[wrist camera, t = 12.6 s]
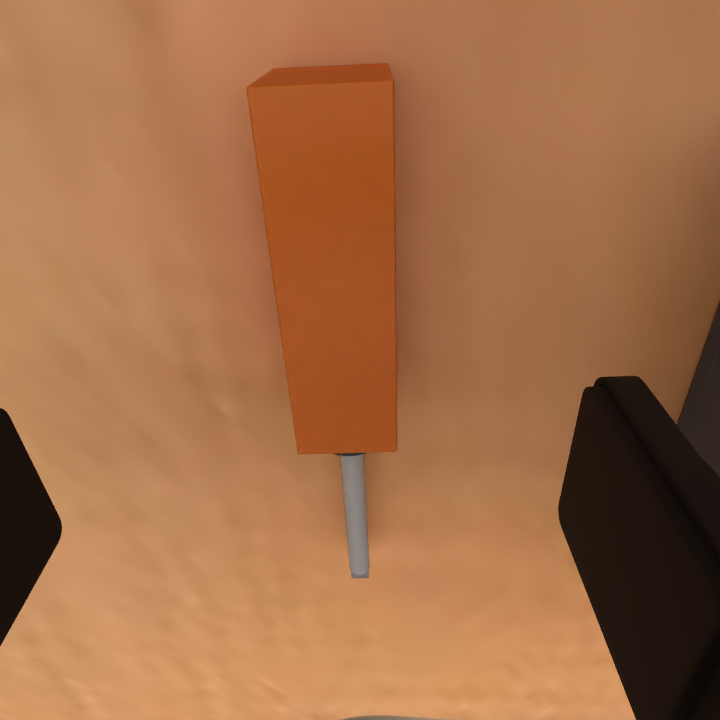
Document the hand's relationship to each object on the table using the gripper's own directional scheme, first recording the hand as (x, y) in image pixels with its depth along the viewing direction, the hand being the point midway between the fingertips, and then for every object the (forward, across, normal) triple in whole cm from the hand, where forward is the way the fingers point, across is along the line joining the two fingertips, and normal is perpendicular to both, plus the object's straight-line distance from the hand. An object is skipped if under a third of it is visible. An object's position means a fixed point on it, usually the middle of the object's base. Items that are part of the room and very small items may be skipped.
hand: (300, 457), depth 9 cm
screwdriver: (+9, 0, +4) cm, 10 cm away
